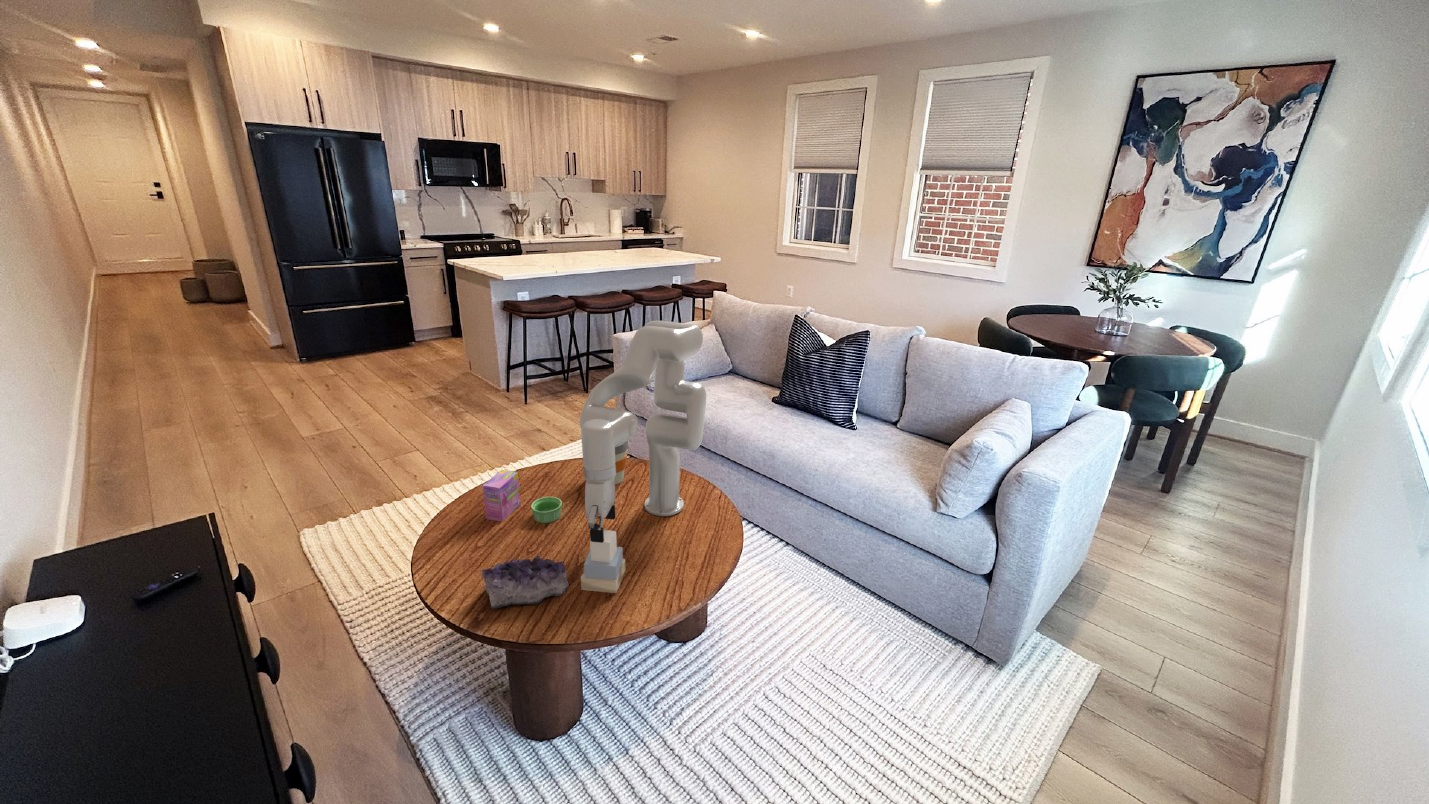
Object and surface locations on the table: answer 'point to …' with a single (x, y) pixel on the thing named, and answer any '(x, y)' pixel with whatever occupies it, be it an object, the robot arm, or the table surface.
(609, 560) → the white block
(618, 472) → the reusable coffee cup
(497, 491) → the box
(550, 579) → the geode
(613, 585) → the tower base
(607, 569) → the tower top
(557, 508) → the ramekin
